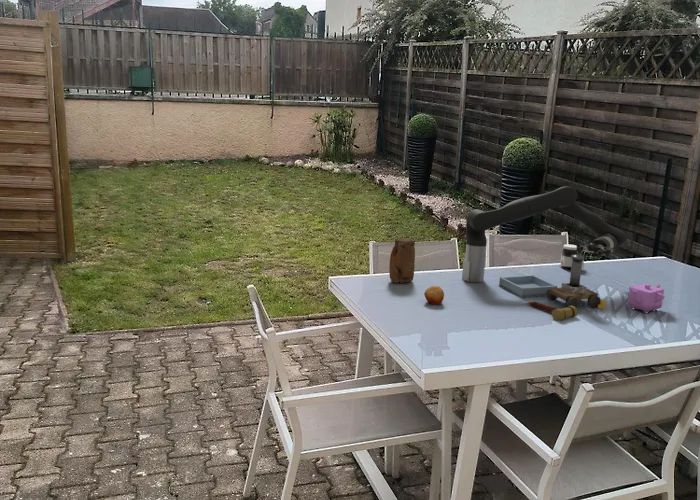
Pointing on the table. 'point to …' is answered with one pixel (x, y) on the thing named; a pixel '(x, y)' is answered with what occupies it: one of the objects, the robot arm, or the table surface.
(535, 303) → the gavel
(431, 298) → the fruit
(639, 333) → the table surface
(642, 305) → the teapot
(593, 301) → the wheeled pole base
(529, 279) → the tray
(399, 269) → the block
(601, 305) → the wheel chock
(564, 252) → the spread jar
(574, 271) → the pin
